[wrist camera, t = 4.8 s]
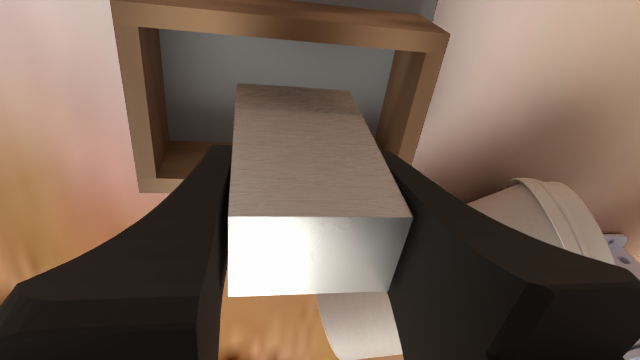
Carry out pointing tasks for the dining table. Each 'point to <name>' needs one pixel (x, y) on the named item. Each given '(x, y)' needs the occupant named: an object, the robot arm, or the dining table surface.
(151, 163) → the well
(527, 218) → the coffee cup
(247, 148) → the brushed aluminum block
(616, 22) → the dining table surface
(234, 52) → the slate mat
